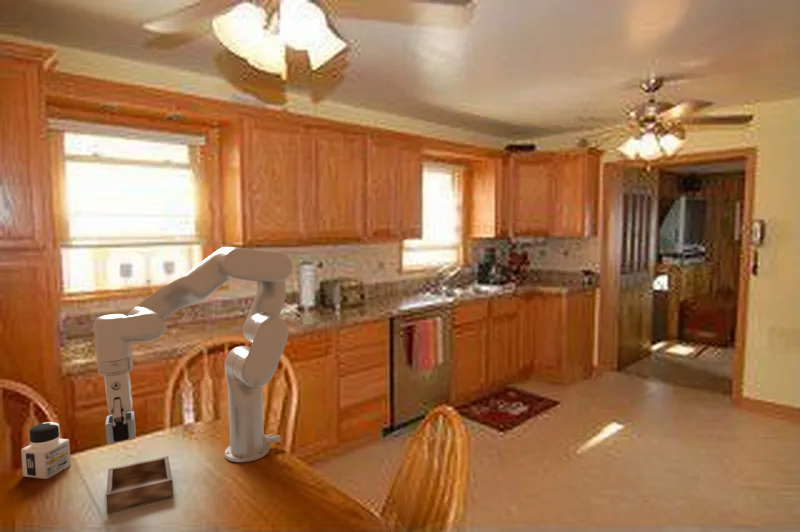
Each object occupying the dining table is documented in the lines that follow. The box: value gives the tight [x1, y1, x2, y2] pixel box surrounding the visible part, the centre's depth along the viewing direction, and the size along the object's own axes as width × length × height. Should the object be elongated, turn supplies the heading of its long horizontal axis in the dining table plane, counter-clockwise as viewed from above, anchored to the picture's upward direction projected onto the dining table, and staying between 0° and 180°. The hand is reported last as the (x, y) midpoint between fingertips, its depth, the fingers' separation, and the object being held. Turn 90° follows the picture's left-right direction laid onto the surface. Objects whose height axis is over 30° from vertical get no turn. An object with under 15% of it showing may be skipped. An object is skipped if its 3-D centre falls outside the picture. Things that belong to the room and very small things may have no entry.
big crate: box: [105, 455, 174, 514], centre depth 124 cm, size 14×14×4 cm
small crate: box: [104, 410, 137, 446], centre depth 123 cm, size 6×6×5 cm
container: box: [20, 421, 72, 480], centre depth 134 cm, size 8×8×13 cm
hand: (121, 434), depth 123 cm, fingers closed on small crate, 6 cm apart
